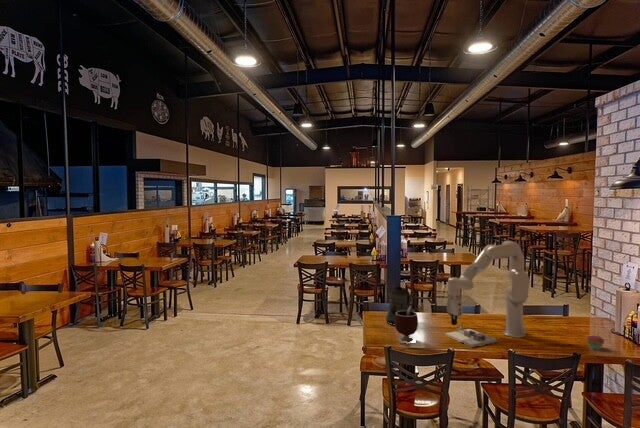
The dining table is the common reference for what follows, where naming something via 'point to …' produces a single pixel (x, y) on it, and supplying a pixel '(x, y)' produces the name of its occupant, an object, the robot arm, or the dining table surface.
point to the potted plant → (397, 303)
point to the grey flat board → (471, 338)
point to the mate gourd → (406, 323)
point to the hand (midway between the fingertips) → (454, 324)
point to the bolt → (461, 328)
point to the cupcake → (595, 341)
